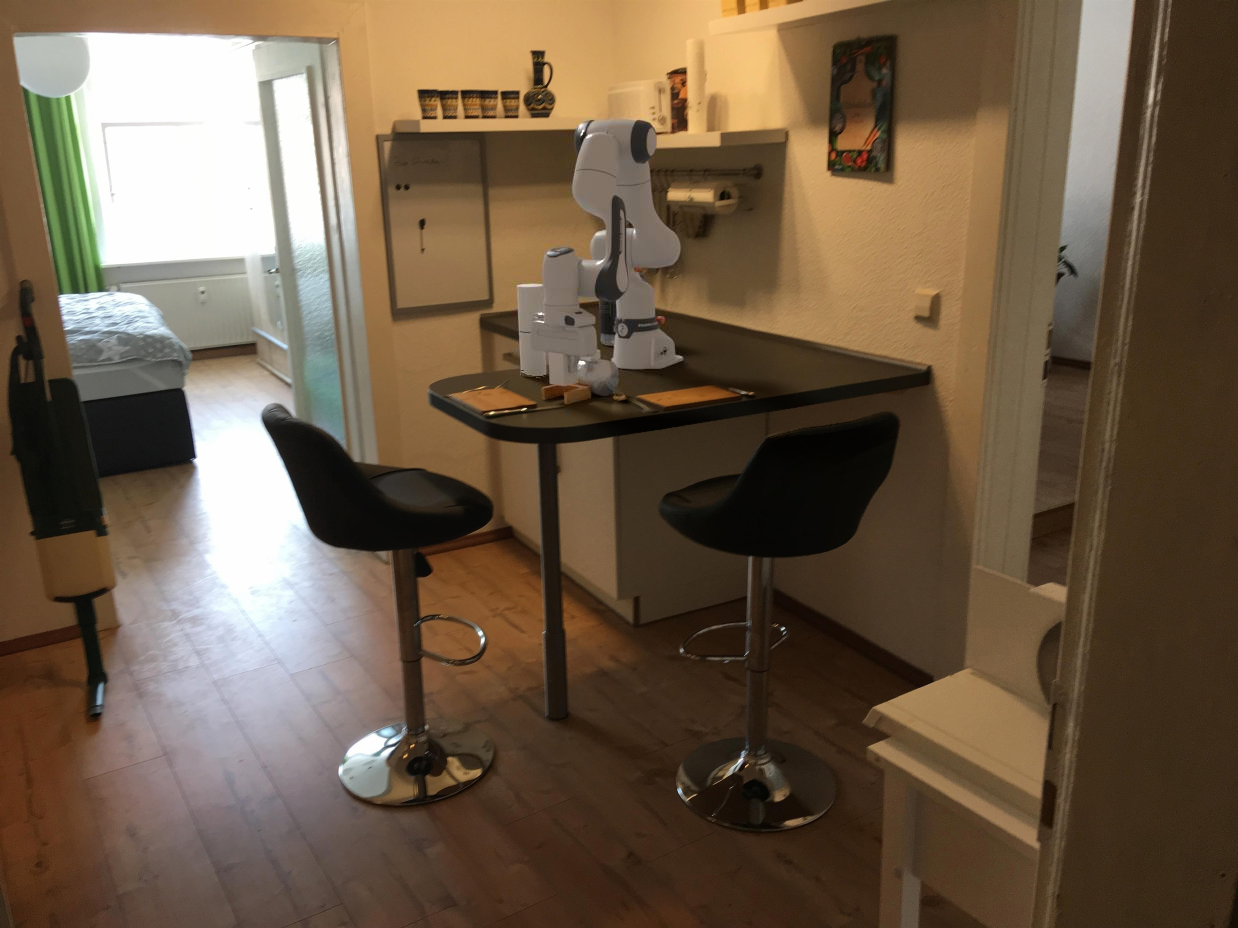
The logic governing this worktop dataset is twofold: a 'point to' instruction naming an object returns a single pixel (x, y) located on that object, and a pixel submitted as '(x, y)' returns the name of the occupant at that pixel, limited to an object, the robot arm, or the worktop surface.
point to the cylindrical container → (527, 308)
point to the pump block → (561, 369)
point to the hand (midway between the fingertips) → (563, 371)
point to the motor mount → (587, 381)
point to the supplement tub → (611, 316)
